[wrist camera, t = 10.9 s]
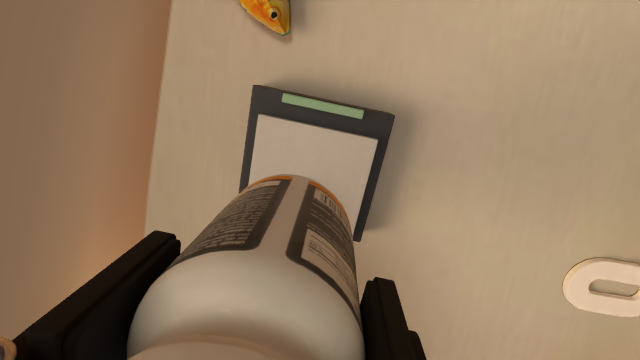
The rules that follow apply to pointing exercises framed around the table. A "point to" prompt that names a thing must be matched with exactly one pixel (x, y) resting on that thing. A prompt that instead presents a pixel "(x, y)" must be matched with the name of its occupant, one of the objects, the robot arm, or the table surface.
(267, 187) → the pill bottle
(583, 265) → the chain link
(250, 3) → the fish
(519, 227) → the table surface
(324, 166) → the scale
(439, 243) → the table surface
